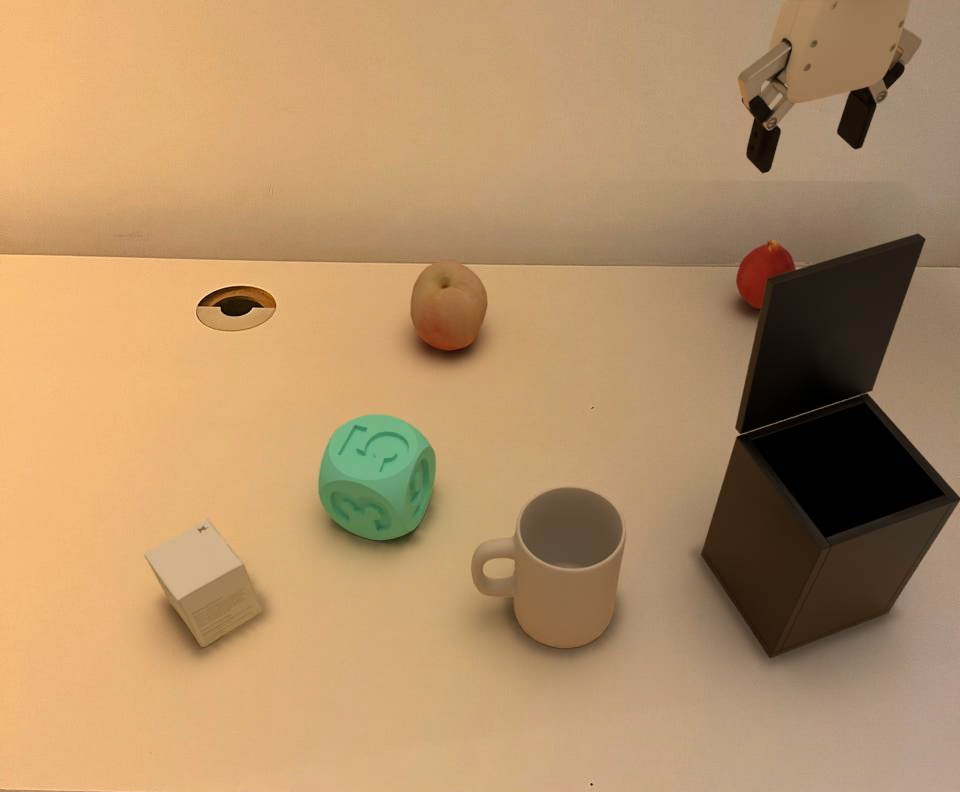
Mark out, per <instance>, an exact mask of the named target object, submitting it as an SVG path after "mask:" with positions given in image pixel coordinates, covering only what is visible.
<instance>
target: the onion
mask: <svg viewBox="0 0 960 792" xmlns="http://www.w3.org/2000/svg"><path fill="white" fill-rule="evenodd" d="M795 265H796V264H795V261H794V259H793V257H792V254H791V253H790V252H789V250H788V249H786V248H784V247H783V246H782V245H781V244H780V242H778V240H776V239H770V240H767V242H766V243H765V244H762V245H759V246H757V247H755V248H754V249H752V250H751V251H750V252H748V254H747V255H746V256H744V258H742V261H741V262H740V264H739V267H738V269H737V273H736V278H735V279H736V280H735V283H736V286H737V289H738V294H739V295H740V296H741V298H743V299H744V300H745V302H747V303H748V304H749V305H750V306H751V307H752V308H753V309H756V310H761V305H762V301H763V296H764V291H765V287H766V282H767V278H770V277H773V276H777V275H780V274H783V273H787V272H790V271H793V270H797V268H796V266H795Z"/></svg>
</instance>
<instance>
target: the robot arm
mask: <svg viewBox="0 0 960 792" xmlns="http://www.w3.org/2000/svg"><path fill="white" fill-rule="evenodd" d="M910 4H911V0H783V1H782V4H781V7H780V9H779V12H778V15H777V19H776V23H775V25H774V29H773V32H772V35H771V38H770V42H769V45H768V48H767V52H766V53H765V54H764V55H763V56H761V57H760V58H758V59H757V60H756V61H754V62H753V63H752V64H751V65H749V66H748V67H746V68H745V69H744V70H743V71H741V72H740V73H739V75H738V77H737V82H738V83H737V84H738V86H739V87H738V88H739V91H740V95H741V103H742V104H743V105H744V106H745V108H746V109H747V111H748V112H749V114H750V115H751V116H752V117H753V120H752V126H751V128H750V129H751V130H750V134H749V138H748V142H747V144H746V145H747V146H746V151H745V152H746V153H745V155H746V158H747V159H748V161H750V163H751V164H752V165H753V166H754V167H755V168H756V169H757V170H759V172H760V173H761V174H765V173H769V172H770V171H771V169H772V167H773V164H774V163H773V162H774V160H775V155H776V152H777V149H778V146H779V145H778V144H779V141H780V137H781V133H782V130H781V128H780V127H779V125H778V124H779V123H781V121H782V120H783V119H784V118H785V116H786V115H787V114H788V113H789V111H790V110H792V109H793V107H794V106H795V105H796V104H802V103H807V102H812V101H816V100H820V99H824V98H825V99H826V98H828V97H833V96H837V95H840V94H846V93H848V92H849V93H848V94H847V98H846V102H845V105H844V107H843V110H842V114H841V117H840V120H839V122H838V126H837V129H836V134H837V135H838V136H839V137H840V138H841V139H842V140H843V141H844V142H846V143H847V145H849V146H850V148H852V149H853V150H859V149H862V148H863V146H864V144H865V139H866V138H867V135H868V132H869V129H870V126H871V123H872V120H873V118H874V115H875V113H876V110H877V107H878V106H877V104H881V103H882V102H884V101H885V100H886V98H887V96H888V93H889V92H888V90H889V89H890V88H891V87H892V86H893V85H894V84H895V83H896V82H897V81H898V80H899V79H900V78H901V76H902V75H903V74H904V72H905V70H906V65H908V64H909V62H910V61H911V60H912V58H913V57H914V56H915V54H916V53H917V51H918V50H919V49H920V47H921V45H922V39H921V38H920V37H919V36H918V35H916V34H915V33H914V32H912V31H910V30H909V29H907V28H905V27H904V26H905V22H906V19H907V15H908V12H909V8H910ZM766 81H767V82H768V84H767V85H766V86H765V87H764V89H763V90H762V86H763V84H764V83H765V82H766ZM779 94H780V95H781V98H780V99H779V100H778V101H777V102H776V104H774V106H773V107H772V108H771V107H770V105H771V104H772V103H773V101H775V99H776V98H777V96H778V95H779Z"/></svg>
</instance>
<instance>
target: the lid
mask: <svg viewBox="0 0 960 792" xmlns="http://www.w3.org/2000/svg"><path fill="white" fill-rule="evenodd" d="M925 242H926V237H924V236H923V235H922V234H920V233H915V234H911V235H907V236H905V237H904V236H903V237H901V238H898V239H895V240H891V241H887V242H885V243H880V244H878V245H874V246H872V247H867V248H863V249H861V250H857V251H855V252H851V253H847V254H844V255H841V256H838V257H833V258H830V259H827V260H824V261H820V262H818V263H814V264H810V265H807V266H803V267H800V268H796V270H793V271H790V272H787V273H783V274H780V275H777V276H773V277H770V278H767V282H766V287H765V291H764V296H763V301H762V305H761V309H759V310H760V311H759V314H758V320H757V323H756V328H755V333H754V338H753V342H752V347H751V353H750V358H749V361H748V367H747V371H746V376H745V380H744V384H743V390H742V394H741V399H740V402H739V408H738V412H737V417H736V422H735V426H734V429H735V430H736V432H737V433H738V434H739V435H742V434H746V433H748V432H751V431H754V430H757V429H760V428H763V427H766V426H769V425H772V424H775V423H778V422H781V421H784V420H787V419H790V418H793V417H796V416H799V415H802V414H805V413H808V412H811V411H814V410H817V409H821V408H824V407H827V406H830V405H833V404H836V403H839V402H842V401H845V400H848V399H851V398H854V397H857V396H860V395H863V394H866V393H870V392H873V389H874V387H875V384H876V381H877V378H878V376H879V373H880V369H881V367H882V365H883V361H884V358H885V356H886V353H887V350H888V348H889V345H890V341H891V339H892V336H893V333H894V331H895V327H896V324H897V322H898V319H899V316H900V313H901V311H902V308H903V305H904V301H905V299H906V296H907V293H908V291H909V287H910V285H911V282H912V279H913V276H914V273H915V270H916V269H917V265H918V262H919V260H920V256H921V254H922V251H923V248H924V245H925Z"/></svg>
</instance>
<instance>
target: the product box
mask: <svg viewBox="0 0 960 792" xmlns="http://www.w3.org/2000/svg"><path fill="white" fill-rule="evenodd" d="M143 556H144V559H145V560H146V561H147V563H148V565H149V567H150V568H151V570H152V572H153V574H154V576H155V577H156V579H157V581H158V584H159V585H160V587H161V589H162V590H163V593H164V595H165V596H166V598H167V600H168V602H169V604H170V605H171V606H172V608H173V609H174V610H175V611H176V612H177V614H178V615H179V616H180V618H181V619H182V621H183V622H184V623H185V625H186V626H187V627H188V629H189V630H190V632H191V633H192V635H193V637H194V639H195V641H197V643H198V645H199V646H200V648H206V647H207V646H210V645H211V644H212V643H214V642H216V641H217V640H219V639H221V638H222V637H224V636H225V635H227V634H229V633H230V632H232V631H233V630H235V629H236V628H238V627H240V626H242V625H243V624H245V623H247V622H248V621H250V620H251V619H254V618H255V617H256V616H258V615H260V614H262V612H263V608H262V607H261V605H260V602H259V600H258V597H257V595H256V592H255V589H254V587H253V585H252V582H251V578H250V576H249V573H248V571H247V568H246V565H245V564H244V562H243V561H242V560H241V558H240V557H239V556H238V555H237V553H236V552H235V551H234V550H233V548H232V547H231V546H230V545H229V543H228V542H227V540H226V539H225V537H223V536H222V534H221V533H220V532H219V530H218V529H217V528H216V527H215V525H214V524H213V523H212V522H211V520H210V519H208V518H205V519H203V520H202V521H200V522H198V523H196V524H195V525H193V526H191V527H189V528H187V529H185V530H184V531H182V532H180V533H179V534H177V535H174V536H173V537H172V538H170V539H168V540H166V541H164V542H162V543H160V544H158V545H157V546H155V547H153V548H151V549H150V550H148V551H146V552H144V553H143Z"/></svg>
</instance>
